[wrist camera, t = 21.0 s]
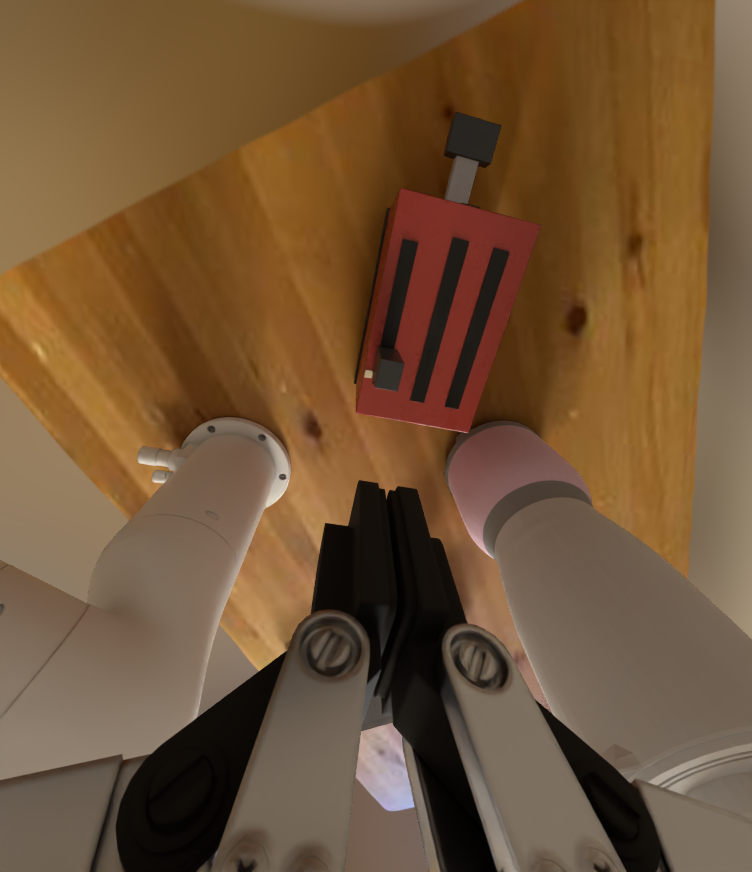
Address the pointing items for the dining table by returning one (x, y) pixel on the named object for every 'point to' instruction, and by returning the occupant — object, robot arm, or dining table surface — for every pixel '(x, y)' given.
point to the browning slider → (387, 369)
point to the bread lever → (468, 153)
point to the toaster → (440, 306)
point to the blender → (609, 622)
